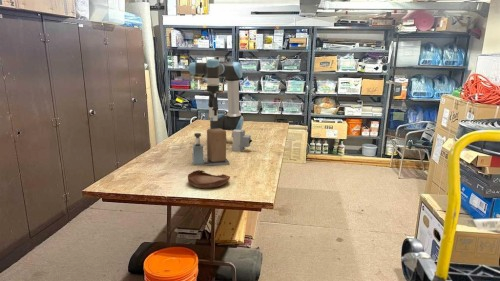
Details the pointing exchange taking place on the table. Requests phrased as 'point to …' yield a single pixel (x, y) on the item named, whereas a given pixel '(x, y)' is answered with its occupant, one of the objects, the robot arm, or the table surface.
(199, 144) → the plunger
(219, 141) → the wooden block
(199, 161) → the press
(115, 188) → the table surface
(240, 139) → the circuit breaker
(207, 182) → the broken brown bowl
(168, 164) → the table surface
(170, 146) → the table surface
